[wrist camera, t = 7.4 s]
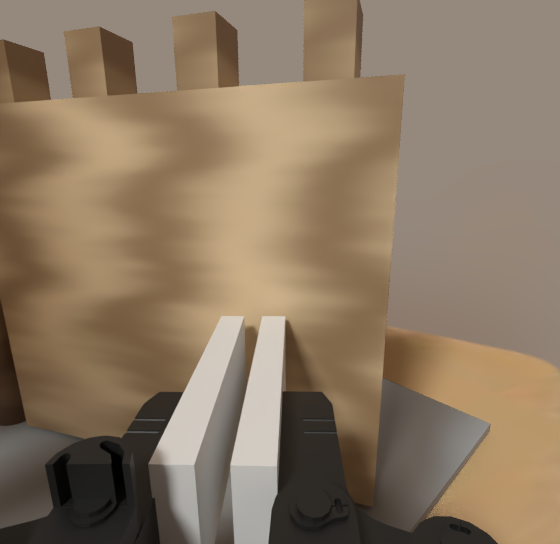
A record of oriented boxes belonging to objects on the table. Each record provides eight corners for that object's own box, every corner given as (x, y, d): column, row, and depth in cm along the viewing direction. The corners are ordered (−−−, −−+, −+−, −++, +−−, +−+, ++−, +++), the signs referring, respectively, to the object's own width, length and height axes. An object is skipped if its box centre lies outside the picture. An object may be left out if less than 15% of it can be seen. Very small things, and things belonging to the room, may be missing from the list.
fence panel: (26, 424, 18) (-53, 47, 14) (55, 405, 19) (-9, 58, 15) (373, 507, 13) (411, -16, 9) (375, 473, 15) (409, 9, 11)
